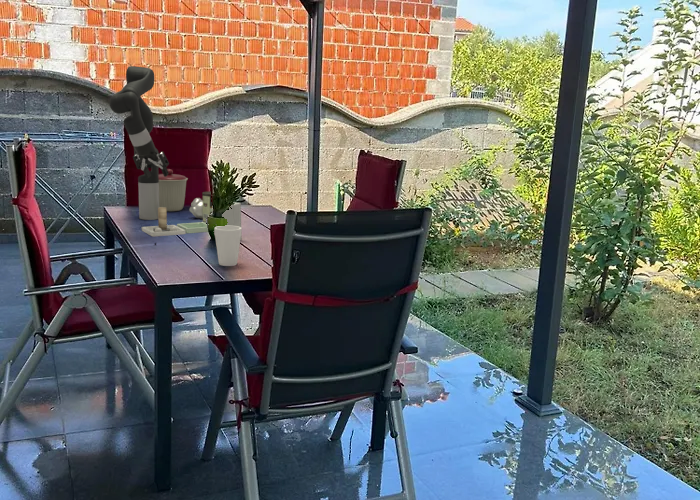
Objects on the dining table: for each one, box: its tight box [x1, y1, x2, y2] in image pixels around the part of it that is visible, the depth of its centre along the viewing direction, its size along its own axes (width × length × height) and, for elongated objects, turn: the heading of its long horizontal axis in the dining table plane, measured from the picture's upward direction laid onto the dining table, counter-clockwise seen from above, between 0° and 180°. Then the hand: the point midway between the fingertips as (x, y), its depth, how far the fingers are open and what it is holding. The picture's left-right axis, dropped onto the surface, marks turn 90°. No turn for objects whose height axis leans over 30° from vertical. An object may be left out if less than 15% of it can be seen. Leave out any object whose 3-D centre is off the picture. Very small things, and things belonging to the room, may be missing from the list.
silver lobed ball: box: [189, 197, 203, 220], centre depth 318 cm, size 9×10×10 cm
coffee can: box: [202, 190, 213, 223], centre depth 309 cm, size 10×10×14 cm
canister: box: [159, 168, 189, 212], centre depth 336 cm, size 18×18×21 cm
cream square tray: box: [141, 224, 187, 237], centre depth 278 cm, size 14×14×2 cm
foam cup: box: [213, 225, 243, 267], centre depth 232 cm, size 10×9×13 cm
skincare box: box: [222, 202, 243, 241], centre depth 271 cm, size 8×7×16 cm
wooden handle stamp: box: [153, 207, 170, 232], centre depth 278 cm, size 6×6×10 cm
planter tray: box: [176, 221, 209, 234], centre depth 286 cm, size 12×12×3 cm
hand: (157, 176), depth 269 cm, fingers open, 8 cm apart
